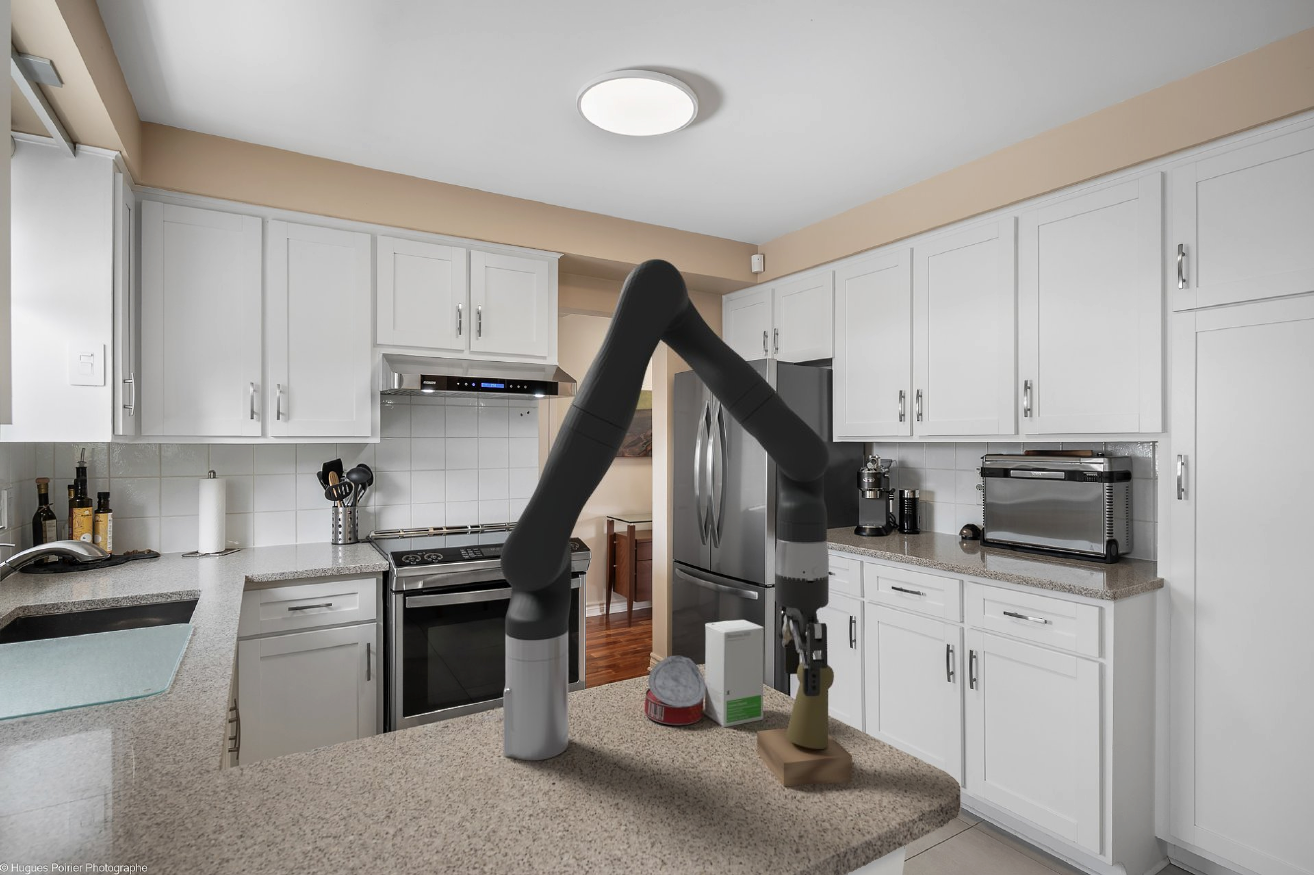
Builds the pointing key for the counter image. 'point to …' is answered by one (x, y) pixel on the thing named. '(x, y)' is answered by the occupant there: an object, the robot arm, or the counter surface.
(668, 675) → the canned food
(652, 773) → the counter surface
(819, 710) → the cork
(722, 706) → the skincare box
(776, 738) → the walnut block
